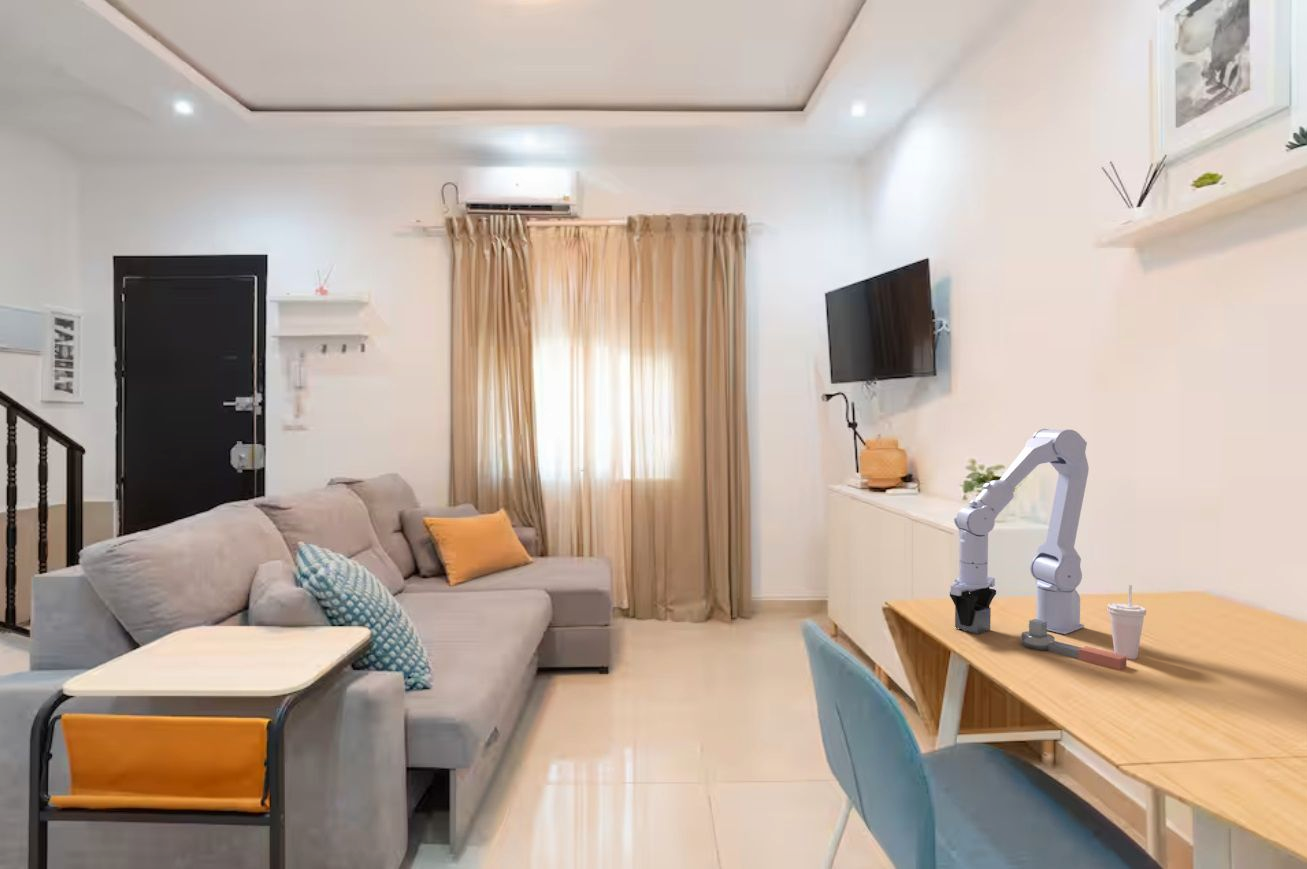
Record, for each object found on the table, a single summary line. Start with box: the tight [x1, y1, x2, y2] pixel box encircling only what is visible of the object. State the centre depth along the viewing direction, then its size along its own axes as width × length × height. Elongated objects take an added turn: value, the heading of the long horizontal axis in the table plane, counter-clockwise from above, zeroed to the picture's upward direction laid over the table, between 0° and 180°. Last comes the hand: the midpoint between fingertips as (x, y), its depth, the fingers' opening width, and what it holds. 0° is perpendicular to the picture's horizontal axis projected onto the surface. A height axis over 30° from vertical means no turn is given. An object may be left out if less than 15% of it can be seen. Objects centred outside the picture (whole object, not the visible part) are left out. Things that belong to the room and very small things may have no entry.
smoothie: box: [1106, 584, 1147, 660], centre depth 139 cm, size 6×6×14 cm
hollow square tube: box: [954, 604, 992, 635], centre depth 156 cm, size 5×5×5 cm
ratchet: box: [1020, 618, 1127, 671], centre depth 140 cm, size 18×6×5 cm, turn 36°
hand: (972, 623), depth 156 cm, fingers closed on hollow square tube, 5 cm apart
